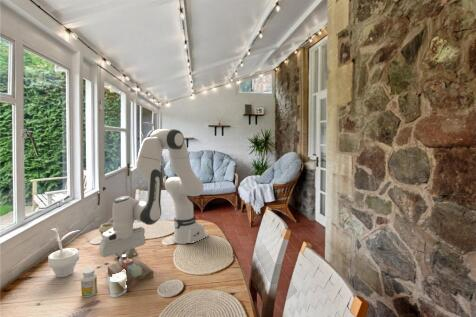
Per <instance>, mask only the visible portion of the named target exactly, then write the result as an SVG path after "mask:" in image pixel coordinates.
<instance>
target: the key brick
mask: <svg viewBox="0 0 476 317" xmlns="http://www.w3.org/2000/svg"><path fill="white" fill-rule="evenodd" d="M131 264H133V260H131V259H130V258H128V259H127V260H124V261H123V268H124V269H125V270H127V266H129V265H131Z"/></svg>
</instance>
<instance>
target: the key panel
mask: <svg viewBox="0 0 476 317" xmlns="http://www.w3.org/2000/svg"><path fill="white" fill-rule="evenodd" d="M129 259H131V260H133V264H135V265H137V266H138V265H139V266H140V267H141V268H142V275H140V276H137V277H135V278H134V277H133V276H132V275H131V273H130V274H129V273H128V272H127V270H126V275H127V281H126V285H127V289H129V288H132V287H134V286H136V285H138V284H141V283H144V282H147V281H149V280H151V279H153V278H154V270H153V269H152V268H150V267H149V266H148V265H146V264H145V263H144V262H143V261H141V260H140V259H139V258H138V257H136V256H134V257H133V256H132V257H130V258H129ZM123 269H124V268H123V266H121V265H120V264H119V261H118V262H116V263H112V264H110V265H107V273H108V274H109V276H111V275H112V274H116V273H119V272H121V271H122V270H123Z"/></svg>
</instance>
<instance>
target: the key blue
mask: <svg viewBox="0 0 476 317" xmlns="http://www.w3.org/2000/svg"><path fill="white" fill-rule="evenodd" d="M135 266H137V265H135V264H131V265H129V266H127V272H128V273H129V274H130V273H131V268H133V267H135Z"/></svg>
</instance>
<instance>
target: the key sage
mask: <svg viewBox="0 0 476 317" xmlns="http://www.w3.org/2000/svg"><path fill="white" fill-rule="evenodd" d="M131 275H132V276H133V277H134V278H135V277H137V276H140V275H142V268H141V267H140V266H139V265H138V266H135V267H133V268H131Z"/></svg>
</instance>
